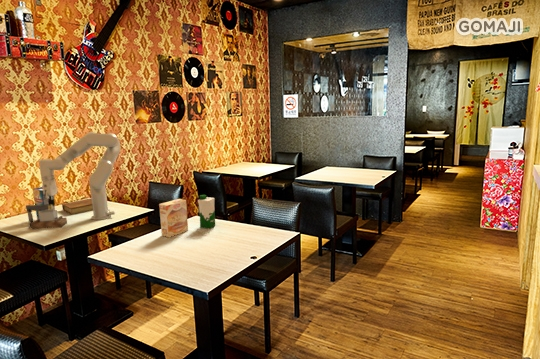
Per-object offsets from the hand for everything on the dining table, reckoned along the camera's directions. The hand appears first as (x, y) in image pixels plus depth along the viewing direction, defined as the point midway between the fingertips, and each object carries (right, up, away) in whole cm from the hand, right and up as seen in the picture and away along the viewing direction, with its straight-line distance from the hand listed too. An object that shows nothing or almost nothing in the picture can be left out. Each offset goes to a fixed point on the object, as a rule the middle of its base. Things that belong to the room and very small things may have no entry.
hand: (52, 205), depth 250 cm
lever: (-5, -2, -5) cm, 8 cm away
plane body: (0, -13, -2) cm, 14 cm away
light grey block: (0, -9, -3) cm, 10 cm away
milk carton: (+104, -13, -11) cm, 106 cm away
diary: (+3, -6, +37) cm, 37 cm away
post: (-11, -14, -3) cm, 18 cm away
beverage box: (-11, -11, +13) cm, 20 cm away
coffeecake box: (+86, -15, -21) cm, 90 cm away
